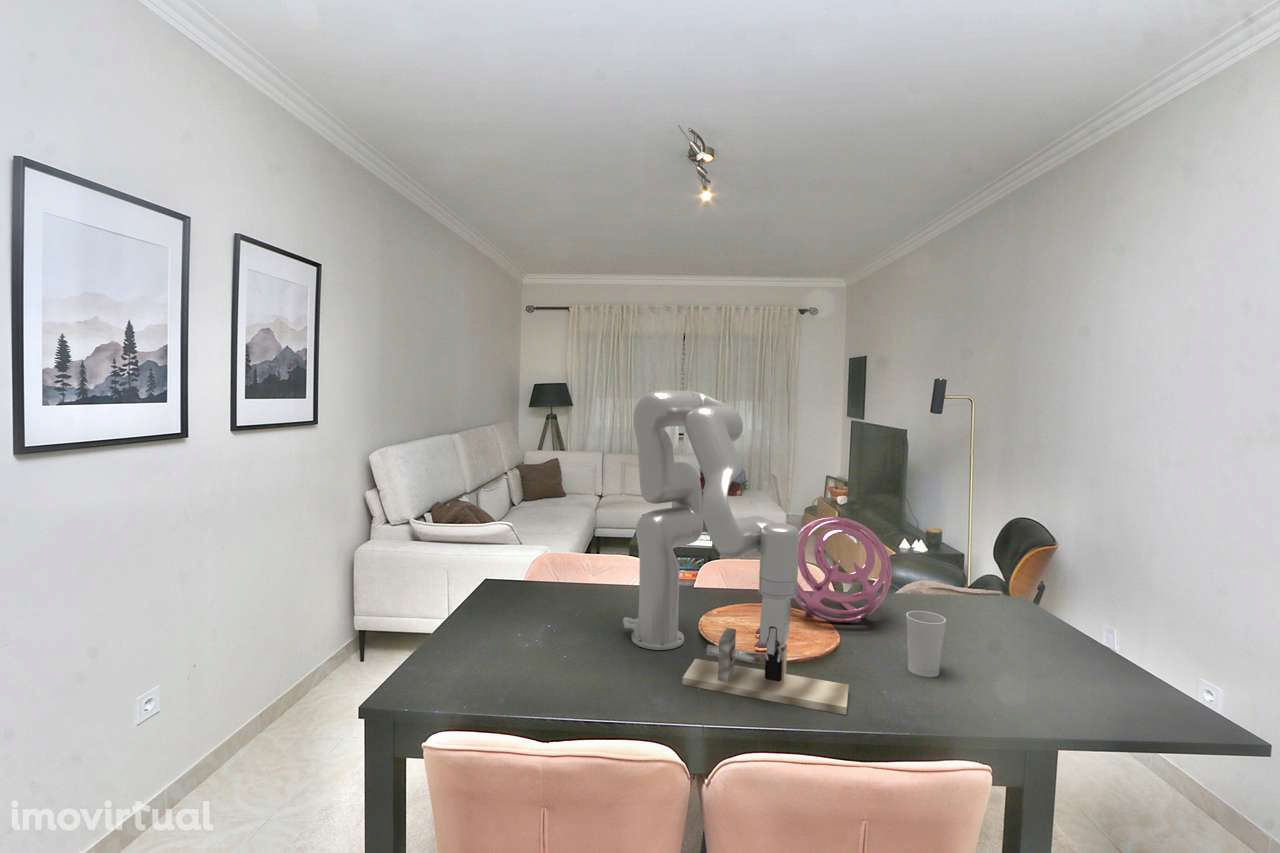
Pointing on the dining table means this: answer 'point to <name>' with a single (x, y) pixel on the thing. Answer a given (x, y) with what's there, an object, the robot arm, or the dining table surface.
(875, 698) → the dining table surface
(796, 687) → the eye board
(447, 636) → the dining table surface
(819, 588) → the spiral basket
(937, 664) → the cup
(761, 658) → the peg
